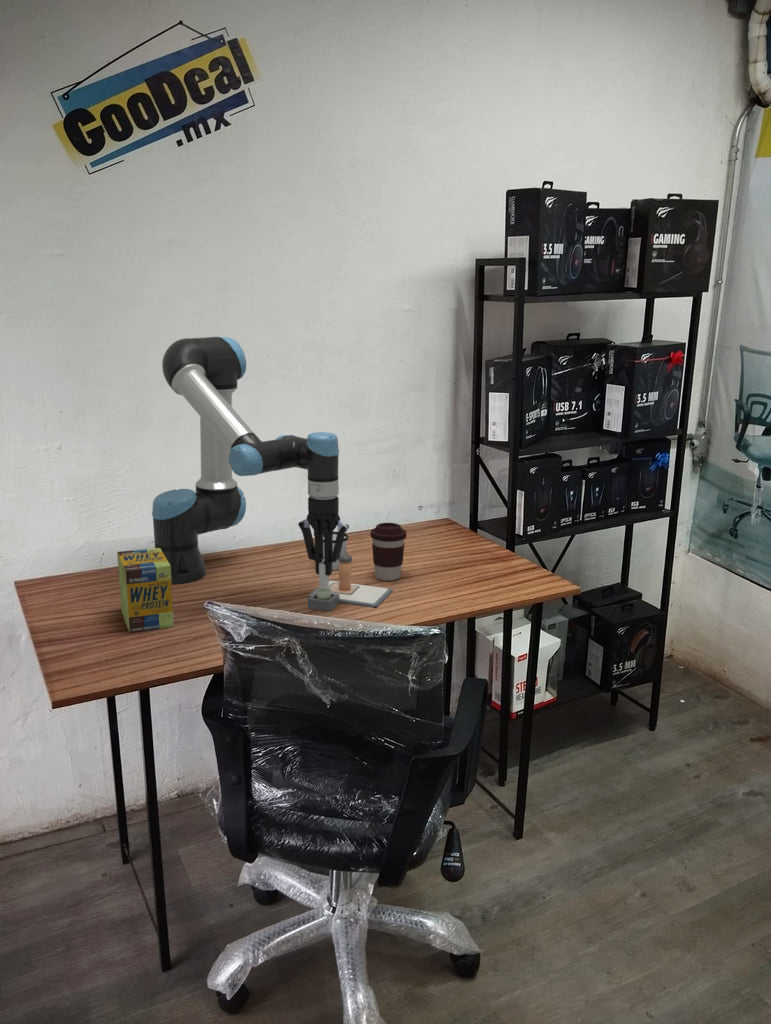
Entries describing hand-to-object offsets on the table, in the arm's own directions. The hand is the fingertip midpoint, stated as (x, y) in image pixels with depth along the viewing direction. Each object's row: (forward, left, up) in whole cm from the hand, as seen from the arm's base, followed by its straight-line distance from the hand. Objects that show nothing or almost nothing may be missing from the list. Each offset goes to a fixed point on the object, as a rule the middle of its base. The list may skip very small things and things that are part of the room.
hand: (324, 586), depth 214 cm
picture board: (+3, +10, -5) cm, 12 cm away
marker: (+1, +11, -4) cm, 12 cm away
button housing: (0, 0, -5) cm, 5 cm away
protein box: (-37, -23, -6) cm, 44 cm away
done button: (0, 0, -4) cm, 4 cm away
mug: (-11, +31, -5) cm, 33 cm away
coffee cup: (+8, +27, -5) cm, 28 cm away
